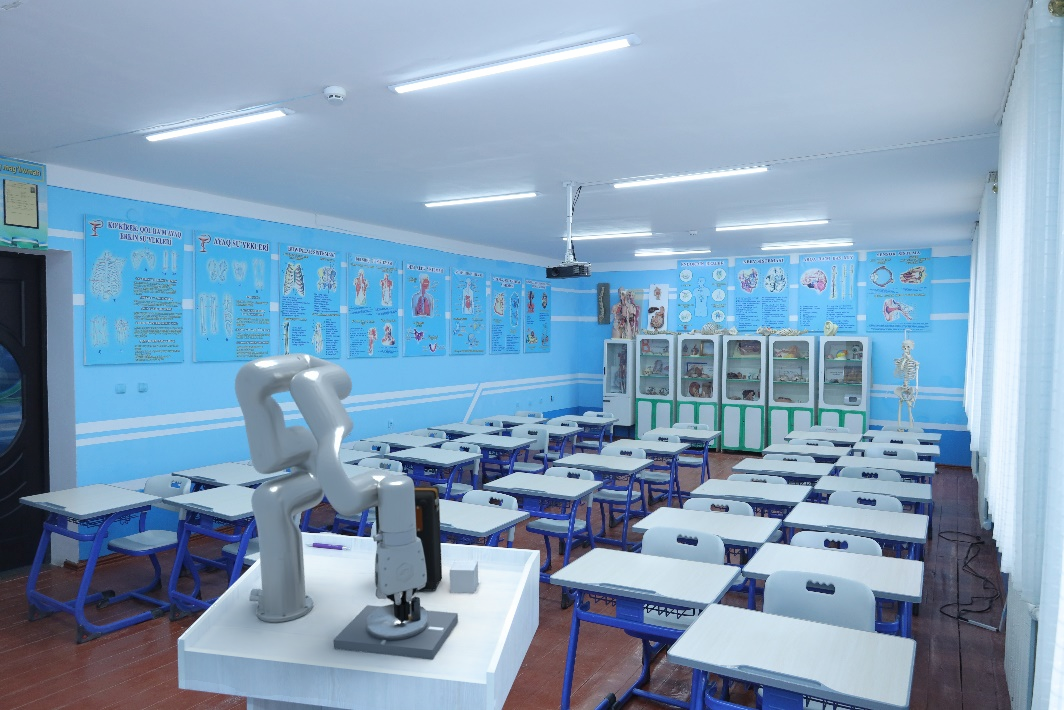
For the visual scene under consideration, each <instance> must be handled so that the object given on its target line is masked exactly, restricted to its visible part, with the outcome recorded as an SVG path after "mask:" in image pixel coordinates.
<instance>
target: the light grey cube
mask: <svg viewBox="0 0 1064 710" xmlns="http://www.w3.org/2000/svg"><path fill="white" fill-rule="evenodd" d="M478 563H479V561H478V560H469V559H468V560H466V559H465V560H460V559H459V560H457V559H455V560H453V562H452V564H451V566H450V569H449V589H450V592H449V593H450V594H475V593H476V590H477V588H478V585H479V564H478Z"/></svg>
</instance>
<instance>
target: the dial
mask: <svg viewBox="0 0 1064 710" xmlns="http://www.w3.org/2000/svg"><path fill="white" fill-rule="evenodd" d="M420 598H421V597H418V596H417V597H416V596H415V597H412V600H411V601H410V614H409V615H408V617H409V620H408V621H404V622H402V623H401V622H400V621H399V620H398V619H397V618H396V617H395V616H394V603H392V604H390V603H389V604H386V605H384V606H383V605H382V606H383V607H380V608H378V609H376V610H374V611H373V612H372V613H370V614H369V616H368V617H367V631H368V633H369V634H370V635H371V636H373V637H375V638H378V639H383V640H398V639H404V638H408V637H411V636H414V635H416V634H418V633H420V632H421V631H423V630H424V629H425V628H426V626H427V624H428V616H427V611H428V610H427V611H426V608H425V607H423V606H422V605H421V599H420Z"/></svg>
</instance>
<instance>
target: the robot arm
mask: <svg viewBox="0 0 1064 710" xmlns="http://www.w3.org/2000/svg"><path fill="white" fill-rule="evenodd" d="M235 375H236V376H235V379H234V391H235V395H236V399H237V402H238V404H239V407H240V410H241V412H242V416H243V420H244V425H245V432H246V438H247V443H248V448H249V454H250V459H251V463H252V466H253V468H254V469H255V471H256V472H257V473H259V474H262V475H270V474H275V473H278V472H282V471H285V470H289V469H290V473H287V474H284V475H281V476H277V477H275V478H272V479H269V480H266V481H264V482H263V483H261V484H260V485H258V486H257V487H256V488H255V490H254V491H253V492H252V495H251V501H250V502H251V507H252V512H253V515H254V519H255V523H256V528H257V535H258V547H259V549H258V550H259V560H260V563H259V565H260V575H261V588H252V589H251V591H250V595H249V602H257V603H258V606H257V607H256V611H255V612H256V616H257V618H258V619H260V620H261V621H264V622H270V623H280V622H281V623H282V622H288V621H292V620H296V619H298V618H301V617H303V616H305V615H306V614H308V613H309V612H310V611H311V610H312V609H313V607H314V600H313V598H312V597H311V596H309V595H307V594H306V580H305V561H304V547H303V545H304V544H303V534H302V530H301V528H300V527H299V526H298V524H297V523H296V522H295V520H294V516H297V515H299V514H300V513H303V512H306V511H307V510H310V509H312V508H314V507H316V506H318V505H319V504H320V503H321V502H322V501H323V499H324V497H326V500H327V501H328V502H329V504H330V505H331V507H332V508H333V509H334V510H335V511H336V512H337V513H339V514H340V515H341V516H345V517H353V516H355V515H358V514H360V513H363V512H365V511H367V510H369V509H372V508H375V507H376V506H378V510H379V532H378V534H377V535H376V534H374V535H373V537H372V539H373V542H377V541H380V543H378V544H377V543H376V552H375V559H374V560H375V561H374V584H375V587H376V590H375V597H376V598H377V599H379V600H390V601H391V602H392V603H393V604H394V616H395V617H396V618H397V619H398V620H399V621H400V622H401V623H402V622H404V621H408V620H409V617H408V615H409V614H410V603H411V600H412V598H413V596H414V595H415V593H416V592H417V591H420V590H419V589H421V588H423V587H425V585H426V584H425V583H426V581H427V573H426V564H425V557H424V552H423V547H422V543H421V539H420V538H418V537H417V536H416V515H415V494H414V486H415V484H414V480H413V479H412V478H411V477H410V476H407V475H403V474H397V475H395V474H393V473H390V472H388V471H385V470H382V469H371V470H368V471H365V472H363V473H359V474H357V475H353V476H351V477H348V475H347V474H346V471H345V470H344V468H343V465H342V463H341V459H340V458H341V457H340V451H341V450H340V449H341V446H342V443H343V442H344V440H345V439H346V438H347V437H348V436H349V435H350V434H351V432H352V431H353V429H354V422H353V420H352V419H351V416H350V415H349V413H348V412H347V410H346V408H345V406H344V404H343V403H342V401H344V400H345V399H346V398H348V397H349V396H350V394H351V393H352V389H353V382H352V378H351V376H350V375H349V373H348V372H347V370H345V369H344V368H343V367H342V366H341V365H338V364H336V363H334V362H333V361H328V360H326V359H322V358H320V357H316V356H314V355H311V354H308V353H303V352H297V353H288V354H281V355H273V356H265V357H264V356H263V357H260V358H257V359H256V358H255V359H253V360H251V361H247V362H245V364H243V365H242V366H241V367H240V368H239V370H238V372H237V373H236V374H235ZM285 392H286V393H288V392H290V396H291V398H292V400H293V401H294V403H295V404H296V407H297V408H298V410H299V412H300V414H301V415H302V417H303V419H304V422H305V423H306V424H307V426H308V428H307V427H305V426H303V425H291V426H286V422H285V415H284V412H283V409H282V407H281V406H280V404H279V403H278V402H277V400H276V399H274V397H273V396H272V395H275V394H280V393H285ZM400 593H401V595H400Z"/></svg>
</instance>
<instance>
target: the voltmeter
mask: <svg viewBox="0 0 1064 710" xmlns="http://www.w3.org/2000/svg"><path fill="white" fill-rule="evenodd" d="M414 494H415V515H416V536H417V537H418V538H420V539H421V543H422V547H423V552H424V557H425V564H426V573H427V581H426V583H425V584H426V585H425V587H423V588H421V589H419V590H418V591H434V590H436V588H437V586H438V585H439V581H440V582H441V581H442V580H443V569H442V568H443V566H442V563H443V562H442V544H441V542H442V540H441V539H442V538H441V517H440V516H441V513H440V510H441V509H440V488H439V487H438V486H436V485H434V486H433V485H432V486H430V485H427V486H425V485H423V486H422V485H420V486H419V485H414ZM374 508H375V509H374V510H375V511H374V513H375V515H374V516H375V535H377V534H378V532H379V510H378V506H376V507H374ZM378 543H380V541H376V545H377V544H378Z"/></svg>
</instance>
